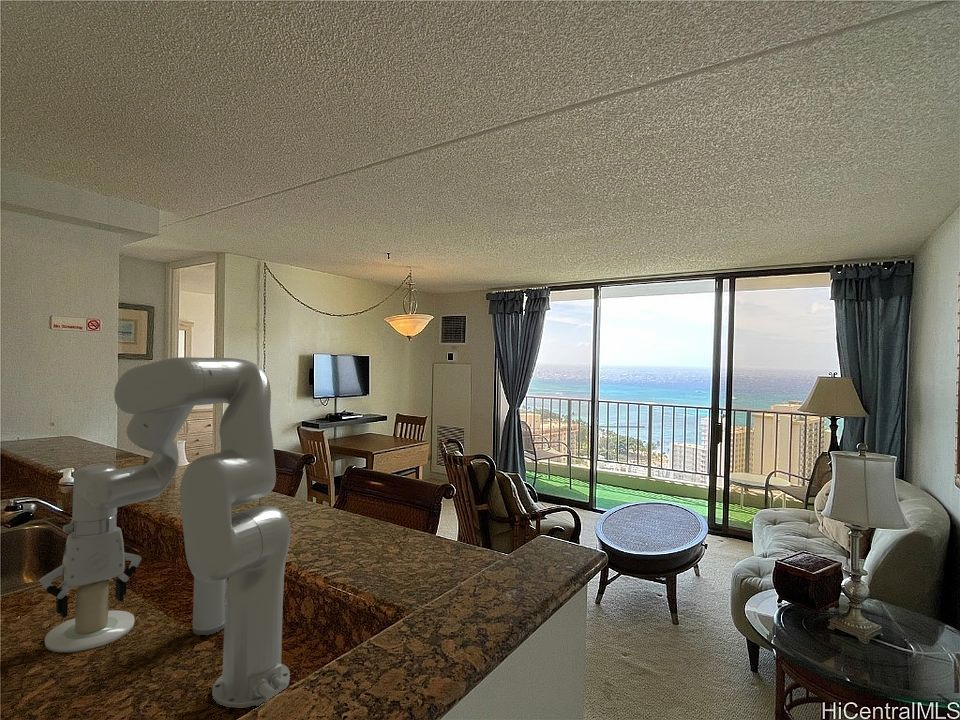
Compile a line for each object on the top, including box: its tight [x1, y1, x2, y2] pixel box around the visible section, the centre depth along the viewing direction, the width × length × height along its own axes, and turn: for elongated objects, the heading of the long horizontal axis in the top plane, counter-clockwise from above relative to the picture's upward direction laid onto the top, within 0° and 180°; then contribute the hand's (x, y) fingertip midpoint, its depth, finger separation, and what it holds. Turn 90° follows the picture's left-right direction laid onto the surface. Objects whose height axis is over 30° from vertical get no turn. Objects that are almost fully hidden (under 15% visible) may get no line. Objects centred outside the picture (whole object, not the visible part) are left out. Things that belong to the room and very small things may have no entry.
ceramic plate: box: [44, 609, 136, 653], centre depth 108 cm, size 15×15×1 cm
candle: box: [74, 580, 110, 634], centre depth 108 cm, size 6×6×10 cm
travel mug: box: [192, 575, 228, 636], centre depth 111 cm, size 6×7×20 cm
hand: (92, 607), depth 108 cm, fingers open, 9 cm apart
